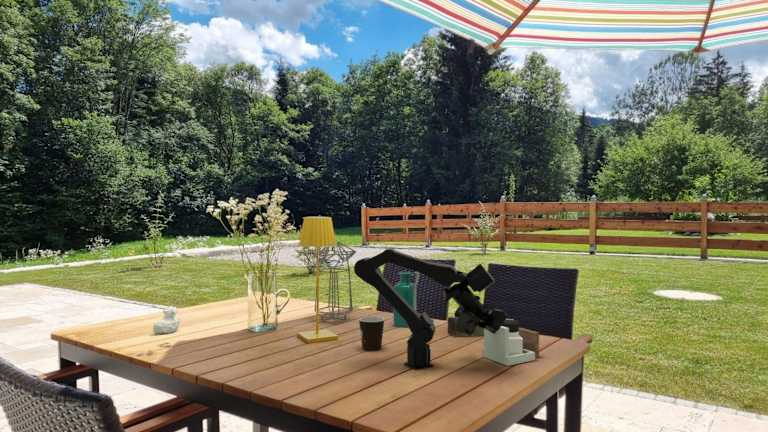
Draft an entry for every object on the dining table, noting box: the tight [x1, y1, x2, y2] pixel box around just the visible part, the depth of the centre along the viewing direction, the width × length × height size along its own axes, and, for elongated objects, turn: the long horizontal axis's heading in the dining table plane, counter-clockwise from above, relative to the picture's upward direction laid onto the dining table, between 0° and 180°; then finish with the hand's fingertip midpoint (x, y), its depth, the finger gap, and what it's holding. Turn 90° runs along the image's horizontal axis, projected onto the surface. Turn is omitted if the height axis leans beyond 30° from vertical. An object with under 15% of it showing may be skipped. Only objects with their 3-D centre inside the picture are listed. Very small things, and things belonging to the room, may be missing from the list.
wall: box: [519, 327, 540, 359], centre depth 161 cm, size 2×8×8 cm, turn 30°
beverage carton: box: [447, 316, 484, 338], centre depth 189 cm, size 8×19×7 cm, turn 100°
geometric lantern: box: [309, 239, 357, 324], centre depth 211 cm, size 16×16×35 cm
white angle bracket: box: [481, 326, 536, 367], centre depth 157 cm, size 12×12×11 cm
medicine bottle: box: [502, 318, 523, 356], centre depth 157 cm, size 7×7×12 cm
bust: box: [152, 305, 181, 335], centre depth 191 cm, size 12×8×11 cm
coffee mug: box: [358, 316, 385, 352], centre depth 170 cm, size 12×9×10 cm
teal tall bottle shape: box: [392, 271, 420, 328], centre depth 204 cm, size 10×8×22 cm
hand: (494, 332), depth 154 cm, fingers closed, pressing on white angle bracket
